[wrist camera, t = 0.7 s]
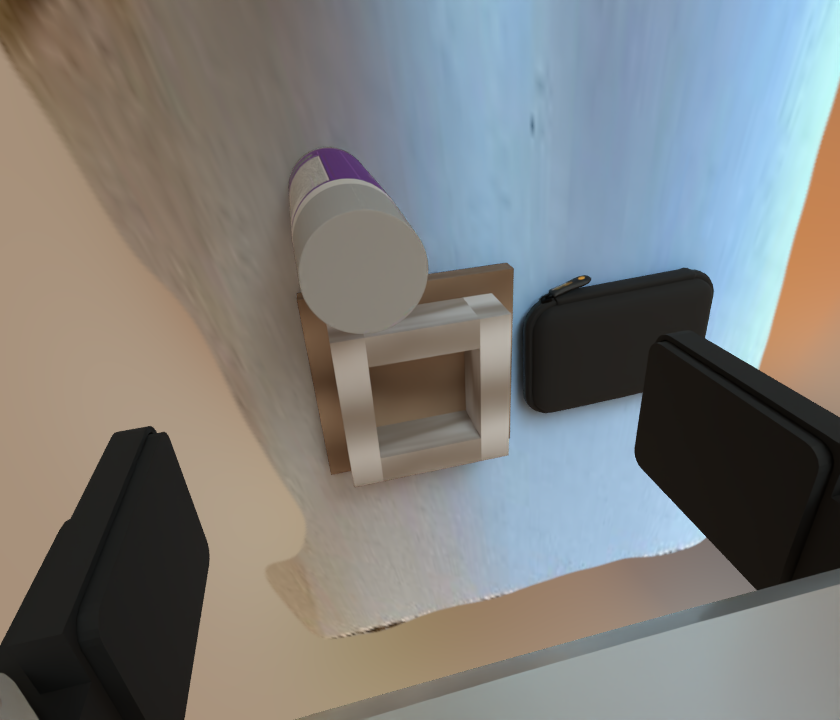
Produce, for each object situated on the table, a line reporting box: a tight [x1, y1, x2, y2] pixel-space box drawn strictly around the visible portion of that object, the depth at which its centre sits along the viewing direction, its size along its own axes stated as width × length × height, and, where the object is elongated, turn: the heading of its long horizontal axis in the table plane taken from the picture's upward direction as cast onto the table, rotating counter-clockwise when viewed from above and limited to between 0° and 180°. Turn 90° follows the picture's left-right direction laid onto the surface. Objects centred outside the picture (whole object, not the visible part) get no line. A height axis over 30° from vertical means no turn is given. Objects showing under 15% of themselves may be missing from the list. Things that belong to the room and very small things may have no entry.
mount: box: [297, 263, 514, 487], centre depth 36 cm, size 14×14×5 cm
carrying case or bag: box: [523, 268, 714, 413], centre depth 39 cm, size 11×3×15 cm
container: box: [289, 147, 428, 334], centre depth 24 cm, size 5×5×15 cm
